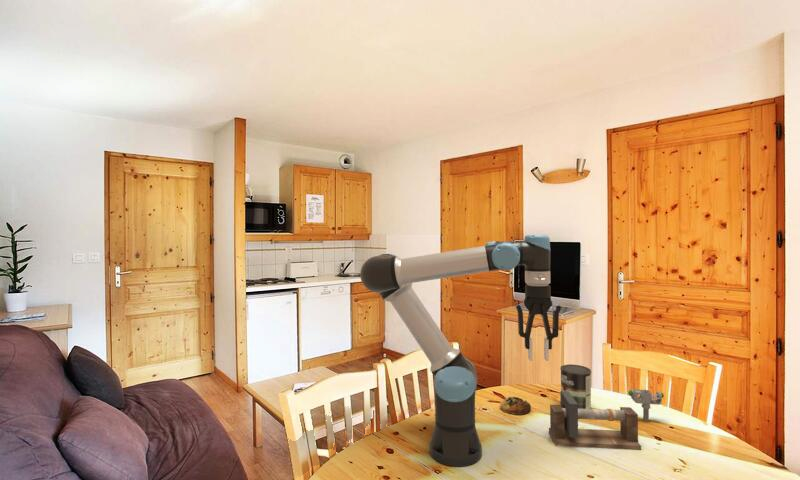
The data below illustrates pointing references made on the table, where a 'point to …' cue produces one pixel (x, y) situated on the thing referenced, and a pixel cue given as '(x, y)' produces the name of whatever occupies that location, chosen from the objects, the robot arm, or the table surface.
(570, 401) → the dark grey square plate
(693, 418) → the table surface
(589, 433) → the pipe rig
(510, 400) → the bread roll
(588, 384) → the coffee can
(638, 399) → the mechanical component
